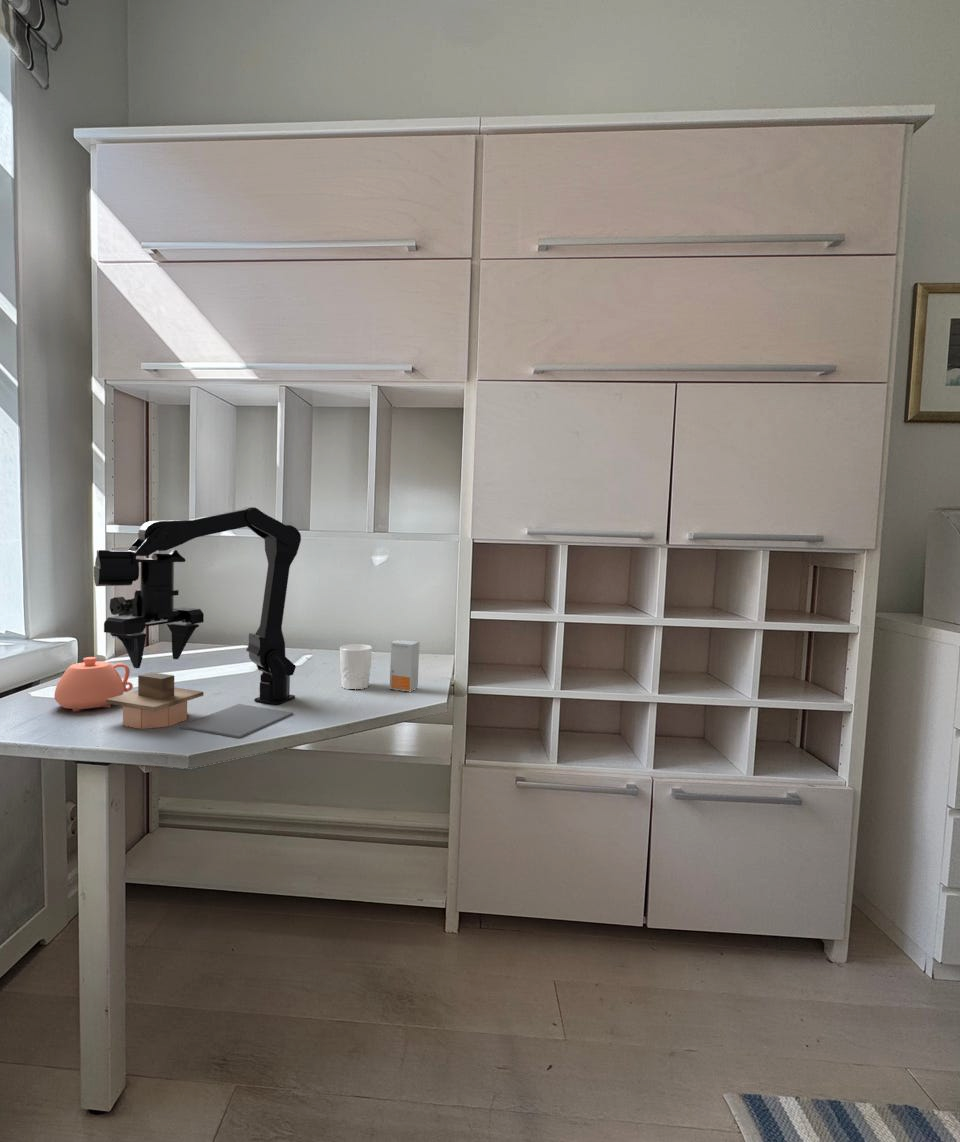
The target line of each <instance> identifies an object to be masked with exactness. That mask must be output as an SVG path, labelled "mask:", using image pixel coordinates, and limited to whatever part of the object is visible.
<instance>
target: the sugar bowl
mask: <svg viewBox="0 0 960 1142" xmlns="http://www.w3.org/2000/svg"><path fill="white" fill-rule="evenodd" d="M97 660H98V658H97V656H96V657H95V656H88V657H83V658H82V661H83V662H78V663H73V664H71V665H69V666H68V667H67V668H66V670H65V671H64V673H63V674H62V675H61V677H60V679H59V680H58V682H57V684H56V687H55V691H54V696H53V697H54V701H55V702H56V703H57V704H58V705H59V706H61V708H64V709H71V710H73V711H72V712H81V711H80V710H82V711H84V710H86V709H94V708H101V707H105V708H109V706H110V705H111V704H107V703H106V699H109V698H112V697H116V696H120V695H123V694H125V693H129V691H132V690H133V688H134V686H133V683H132V682H131V681H128V680H129V677H130V674H131V673H130V672H131V669H130V667H129V666H128V665H127V664H125V663H122V662H118V663H115V664H111V663H110V662H107V661H101V660H100V661H97ZM119 667H120V668H124V670H125V671H124V672H125V673H124V677H123V679H122V677H121V675H120V674H119V672H118V671H117V669H116V668H119ZM127 686H128V687H127ZM124 692H125V693H124ZM110 707H111V706H110ZM83 709H84V710H83Z"/></svg>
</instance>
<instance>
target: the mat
mask: <svg viewBox="0 0 960 1142" xmlns="http://www.w3.org/2000/svg"><path fill="white" fill-rule="evenodd" d="M292 714H293V715H294V712H293V711H287V710H280V709H275V708H269V707H268V708H267V707H261V706H253V705H249V704H242V703H237V704H235V705H232V706H230V707H229V706H228V707H226V708H223V709H221V710H218V711H216V712H213V713H210V714H207V715H204V716H202V717H200V718H197V719H194V720H191V721H188V722H186V723H182V724H181V725H179V728H180V729H184V730H185V729H186V730H191V731H197V732H203V733H209V734H212V735H213V734H214V735H218V736H225V737H230V738H237V739H241V738H243V737H246V736H248V735H249V733H250V734H252V733H255V732H256V730H257V731H259V730H261V729H263V728H265V726H266V727H268V726H270V725H272V724H274V722H275V723H276V721H277V722H279V721H281V720H283V718H284V719H286V718H289V717H290V716H292ZM278 720H279V721H278ZM267 725H268V726H267ZM260 728H261V729H260ZM258 729H259V730H258ZM254 731H255V732H254Z"/></svg>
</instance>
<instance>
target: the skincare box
mask: <svg viewBox="0 0 960 1142" xmlns="http://www.w3.org/2000/svg"><path fill="white" fill-rule="evenodd" d="M390 644H391V645H390V665H389V667H390V671H389V690H390V689H395V690H394V691H398V690H404V691H413V690H414V689H416V688H417V687H418V686H419V661H420V660H419V659H420V641H413V640H402V639H396V640H394V641H392V642H391V643H390ZM417 689H418V688H417ZM417 689H416V690H417ZM404 691H403V692H404ZM414 691H415V690H414ZM414 691H413V692H414Z"/></svg>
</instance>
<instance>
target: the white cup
mask: <svg viewBox="0 0 960 1142" xmlns="http://www.w3.org/2000/svg"><path fill="white" fill-rule="evenodd" d="M372 654H373V646H371V645H368V644H359V643H357V644H355V643H351V644H344V645H341V646H340V647H339V665H340V678H341V682H340V683H341V688H342V687H343V688H342V689H344V688H345V689H344V690H348V689H355V690H354V691H357V690H356V689H361V690H365V689H367V688H369V687H368V686H370V675H371V671H372V670H371V667H372ZM364 688H365V689H364Z"/></svg>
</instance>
